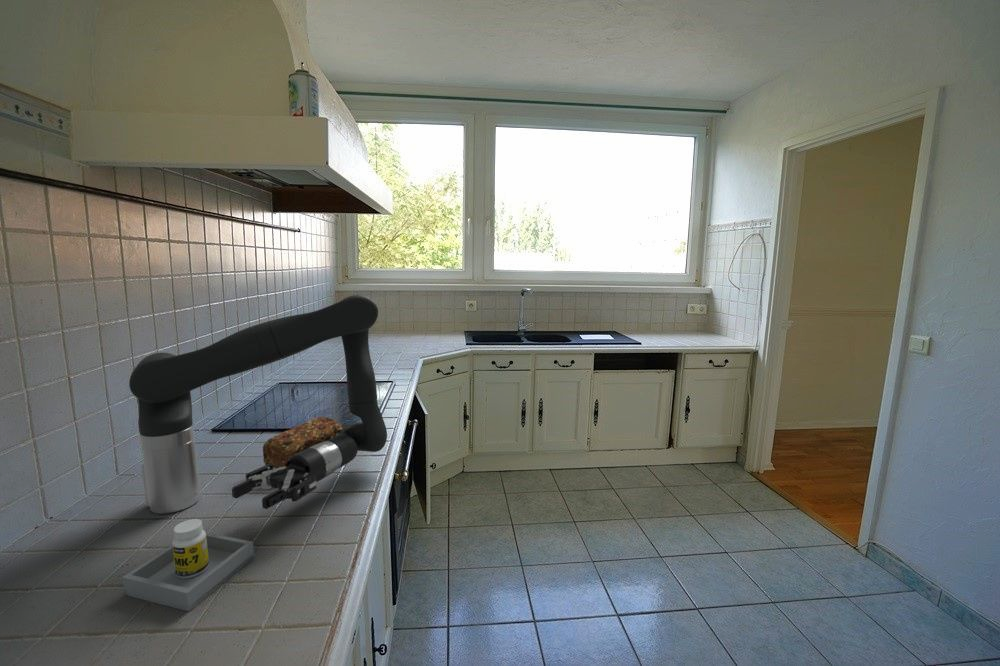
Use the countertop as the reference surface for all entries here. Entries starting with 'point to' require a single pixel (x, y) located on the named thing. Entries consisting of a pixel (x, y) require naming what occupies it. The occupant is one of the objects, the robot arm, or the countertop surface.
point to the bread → (299, 440)
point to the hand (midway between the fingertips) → (248, 498)
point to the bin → (167, 589)
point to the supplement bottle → (190, 549)
